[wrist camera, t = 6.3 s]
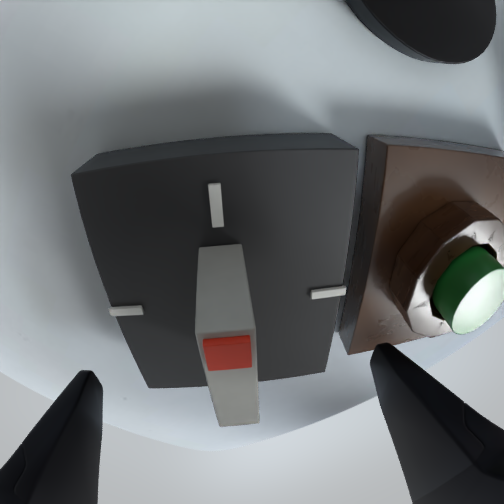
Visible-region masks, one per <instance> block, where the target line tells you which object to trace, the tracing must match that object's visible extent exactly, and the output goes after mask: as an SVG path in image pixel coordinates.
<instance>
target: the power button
mask: <svg viewBox="0 0 504 504" xmlns="http://www.w3.org/2000/svg"><path fill="white" fill-rule="evenodd" d="M432 299H433V304H434V306H435V307H436V308H437V310H438V311H439V313H440V314H441V315H442V317H443V318H444V319H445V321H446V322H447V324H448V325H449V326H450V328H451V329H452V331H453V332H454V333H456V334H467V333H469V332H472V331H474V330H476V329H477V328H479V327H480V326H482V325H483V324H484V323H485V322H486V321H488V320H489V319H490V318H491V317H492V316H493V314H494V313H495V312H496V311H497V309H498V308H499V307H500V305H501V304H502V302H503V300H504V267H503V266H502V265H501V264H500V263H499V262H498V261H497V260H496V259H495V258H494V257H493V256H492V255H491V254H490V253H489V252H488V251H486V250H485V249H484V248H482V247H479V246H474V247H470V248H469V249H467V250H466V251H465V252H463V253H462V254H460V255H459V256H458V257H456V258H455V259H453V260H452V262H451V263H450V264H449V266H448V267H447V268H446V270H445V271H444V272H443V274H442V275H441V276H440V277H439V279H438V280H437V282H436V285H435V288H434V290H433V295H432Z"/></svg>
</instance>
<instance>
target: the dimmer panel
mask: <svg viewBox="0 0 504 504" xmlns="http://www.w3.org/2000/svg"><path fill="white" fill-rule="evenodd" d="M358 155H359V149H358V148H356V147H354V146H353V145H351V144H349V143H347V142H346V141H344V140H342V139H340V138H339V137H337V136H335V135H333V134H324V133H303V134H265V135H245V136H230V137H217V138H206V139H196V140H187V141H178V142H170V143H162V144H155V145H148V146H141V147H135V148H128V149H123V150H117V151H111V152H106V153H101V154H97V155H95V156H94V157H93V158H91V159H90V160H89V161H88V162H86V163H85V164H84V165H82V166H81V167H80V168H79V169H78V170H76V171H75V172H74V173H73V174H71V177H72V182H73V186H74V190H75V194H76V198H77V202H78V206H79V209H80V213H81V217H82V220H83V224H84V227H85V231H86V234H87V237H88V241H89V244H90V247H91V250H92V253H93V256H94V259H95V262H96V265H97V268H98V271H99V274H100V277H101V279H102V282H103V285H104V288H105V290H106V293H107V296H108V298H109V301H110V303H111V306H112V307H109V309H108V310H109V313H110V315H111V316H116V318H117V321H118V323H119V325H120V328H121V330H122V333H123V335H124V337H125V339H126V342H127V344H128V346H129V348H130V350H131V353H132V355H133V357H134V359H135V361H136V363H137V365H138V367H139V370H140V372H141V374H142V376H143V378H144V380H145V382H146V384H147V386H148V387H149V388H182V387H202V386H208V383H207V380H206V376H205V372H204V368H203V364H202V360H201V356H200V352H199V348H198V344H197V339H196V335H195V318H196V292H197V272H198V254H199V248H200V247H211V246H222V245H233V244H241V245H242V249H243V255H244V261H245V267H246V273H247V279H248V285H249V291H250V297H251V303H252V308H253V314H254V320H255V326H256V345H257V371H258V382H259V381H268V380H275V379H283V378H290V377H297V376H303V375H309V374H315V373H321V372H325V369H326V364H327V360H328V356H329V351H330V347H331V342H332V337H333V333H334V328H335V323H336V318H337V312H338V307H339V302H340V296H341V295H345V293H346V286H342V285H343V279H344V273H345V267H346V260H347V253H348V247H349V239H350V232H351V224H352V216H353V208H354V199H355V189H356V179H357V167H358Z"/></svg>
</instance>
